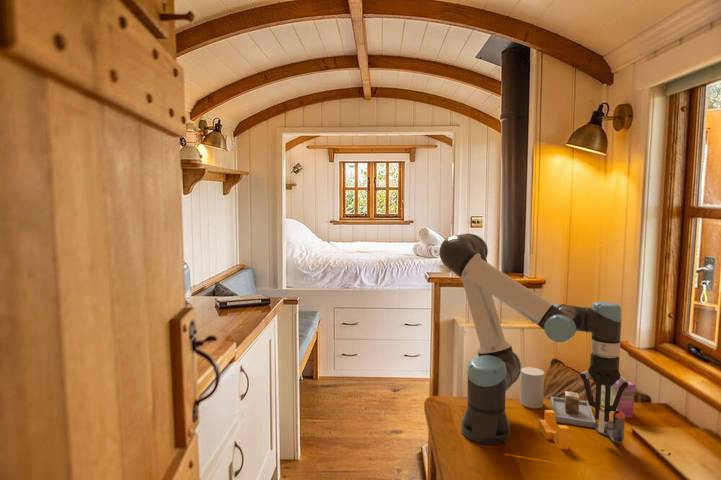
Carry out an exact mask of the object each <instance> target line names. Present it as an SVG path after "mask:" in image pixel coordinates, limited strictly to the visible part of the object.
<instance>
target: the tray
mask: <svg viewBox="0 0 721 480" xmlns="http://www.w3.org/2000/svg"><path fill="white" fill-rule="evenodd" d="M550 407H551V410H553V411H554V412H555V419H556V423H562V424H568V425H574V426H582V427H588V428H594V429H595V426H596V425H597V421H596V419H595V415H594V414H593V410H592V406H590V405H589V404H588V400H587V401H585V400H579V415H576V414H570V413H566V412H565V397H558V396H557V397H556V396H550Z"/></svg>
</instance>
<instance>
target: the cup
mask: <svg viewBox="0 0 721 480" xmlns="http://www.w3.org/2000/svg"><path fill="white" fill-rule="evenodd" d="M544 389H545V372H544V370H542V369H540V368H537V367H530V366H527V367H521V373H520V375H519V404H521V405H522V406H523V407H526V408H528V409H529V408H530V409H541V408H542V407H544V399H545V398H544V397H545V395H544V394H545V392H544V391H545V390H544Z"/></svg>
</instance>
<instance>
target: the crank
mask: <svg viewBox="0 0 721 480" xmlns="http://www.w3.org/2000/svg"><path fill="white" fill-rule="evenodd" d="M625 422H626V418H625V415H624V413H623V412H622V411H620V410H616V411H615V412H614V413H613V414H612V420H610V419H609V421H608V422H605V429H604V431H605V432H606V433H607V434H608V436H609V438H610V439H611V440H612V442H613V443H621V444H622V443H623V442H624V441H625V426H626V423H625ZM597 423H598V424H597V425H598V427H599V420H598V422H597ZM608 436H607V437H608Z"/></svg>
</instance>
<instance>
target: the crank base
mask: <svg viewBox="0 0 721 480" xmlns="http://www.w3.org/2000/svg"><path fill="white" fill-rule="evenodd" d="M598 428H599V427H598V424H596V426H595V428H594V429H595V430H594V431H595V432H596V433H597V434H599V435H600V436H605V437H609V436H608V434H607V433H606V432H605V431H604V433H602V432H598ZM609 438H610V437H609Z"/></svg>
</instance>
